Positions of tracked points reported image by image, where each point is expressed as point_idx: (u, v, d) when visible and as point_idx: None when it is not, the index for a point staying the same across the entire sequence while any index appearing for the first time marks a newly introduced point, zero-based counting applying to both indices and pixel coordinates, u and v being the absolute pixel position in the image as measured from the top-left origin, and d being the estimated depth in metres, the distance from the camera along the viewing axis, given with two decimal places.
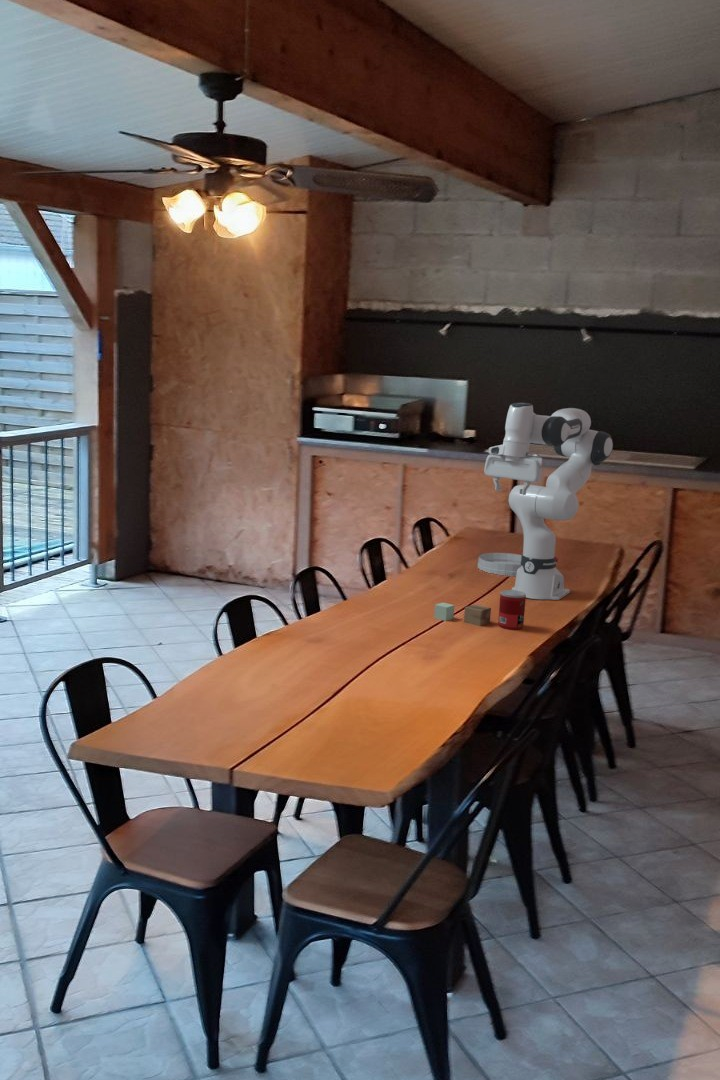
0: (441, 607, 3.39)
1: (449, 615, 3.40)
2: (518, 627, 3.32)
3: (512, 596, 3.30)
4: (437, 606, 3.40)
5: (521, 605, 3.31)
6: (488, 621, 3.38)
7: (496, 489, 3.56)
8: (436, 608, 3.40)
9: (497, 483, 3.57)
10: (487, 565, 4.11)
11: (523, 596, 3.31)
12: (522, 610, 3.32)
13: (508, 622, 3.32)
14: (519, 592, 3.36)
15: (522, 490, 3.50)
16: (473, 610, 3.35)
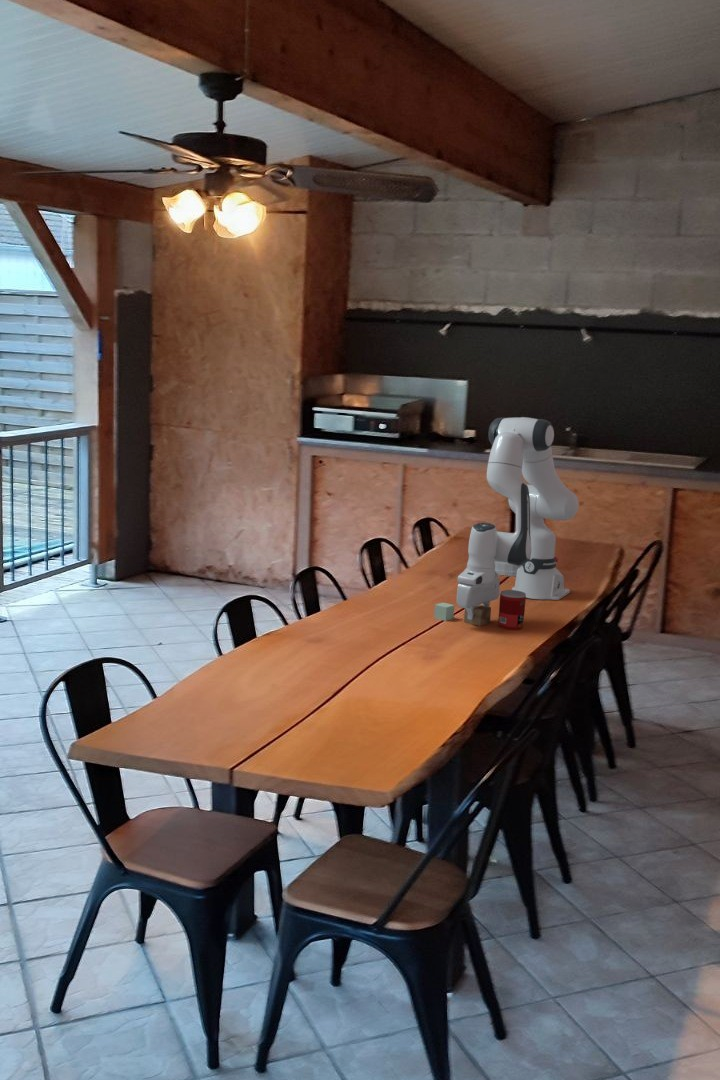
0: (441, 607, 3.39)
1: (449, 615, 3.40)
2: (518, 627, 3.32)
3: (512, 596, 3.30)
4: (437, 606, 3.40)
5: (521, 605, 3.31)
6: (488, 621, 3.38)
7: (472, 618, 3.35)
8: (436, 608, 3.40)
9: None
10: None
11: (523, 596, 3.31)
12: (522, 610, 3.32)
13: (508, 622, 3.32)
14: (519, 592, 3.36)
15: None
16: (473, 610, 3.35)
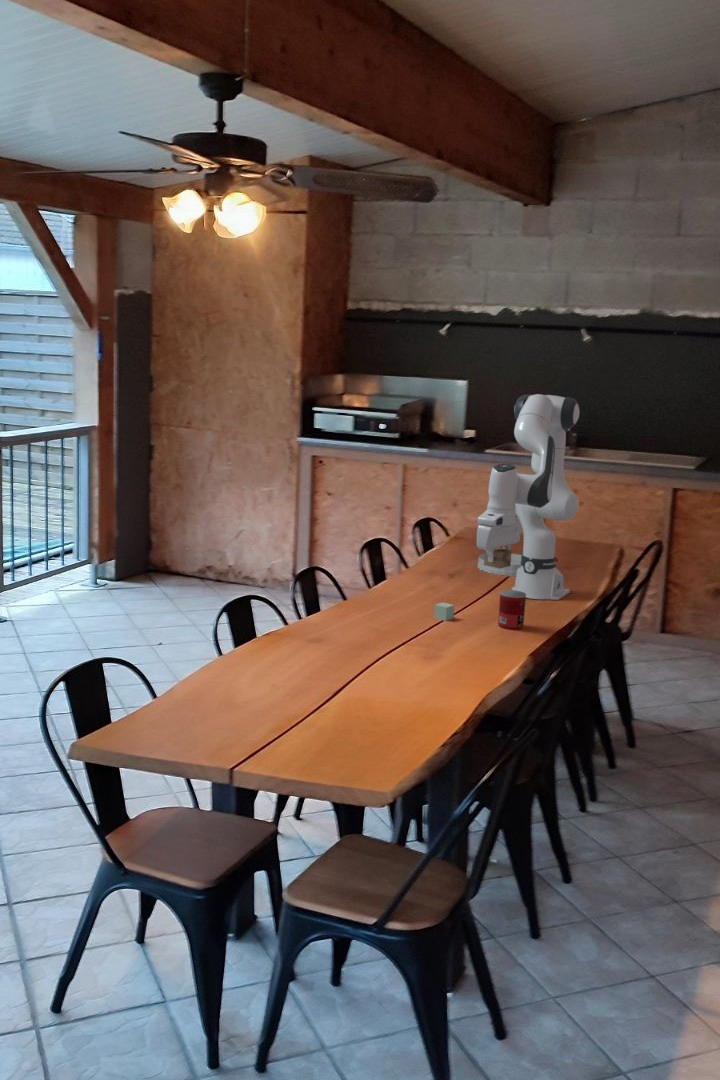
0: (441, 607, 3.39)
1: (449, 615, 3.40)
2: (518, 627, 3.32)
3: (512, 596, 3.30)
4: (437, 606, 3.40)
5: (521, 605, 3.31)
6: (508, 564, 3.34)
7: (493, 560, 3.30)
8: (436, 608, 3.40)
9: None
10: None
11: (523, 596, 3.31)
12: (522, 610, 3.32)
13: (508, 622, 3.32)
14: (519, 592, 3.36)
15: None
16: (493, 552, 3.31)
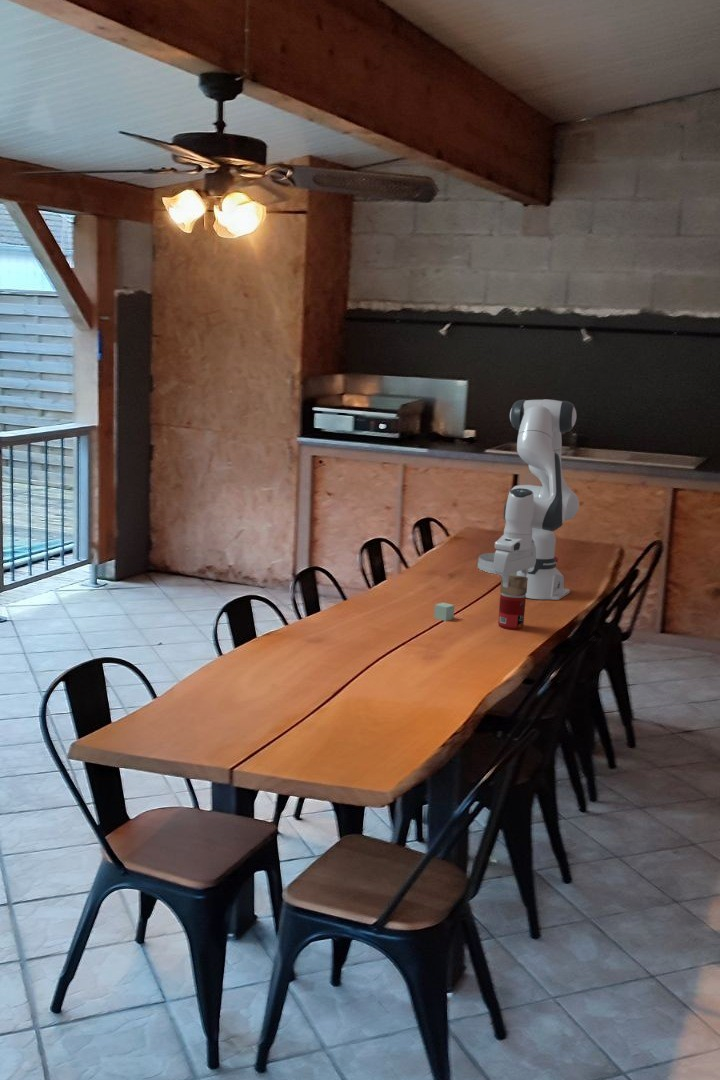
0: (441, 607, 3.39)
1: (449, 615, 3.40)
2: (518, 627, 3.32)
3: (512, 596, 3.30)
4: (437, 606, 3.40)
5: (521, 605, 3.31)
6: (525, 591, 3.33)
7: (508, 586, 3.29)
8: (436, 608, 3.40)
9: None
10: (487, 565, 4.11)
11: (523, 596, 3.31)
12: (522, 610, 3.32)
13: (508, 622, 3.32)
14: None
15: None
16: (510, 579, 3.30)
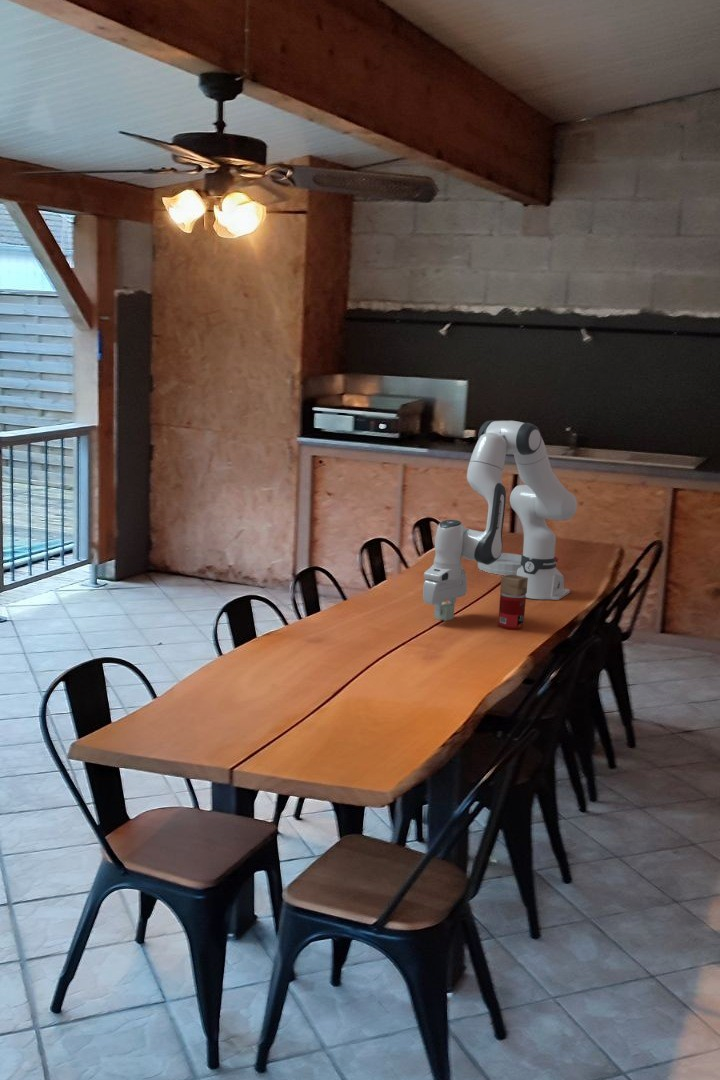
0: (441, 607, 3.39)
1: (449, 615, 3.40)
2: (518, 627, 3.32)
3: (512, 596, 3.30)
4: None
5: (521, 605, 3.31)
6: (525, 591, 3.33)
7: (440, 614, 3.38)
8: None
9: None
10: None
11: (523, 596, 3.31)
12: (522, 610, 3.32)
13: (508, 622, 3.32)
14: None
15: None
16: (510, 580, 3.30)
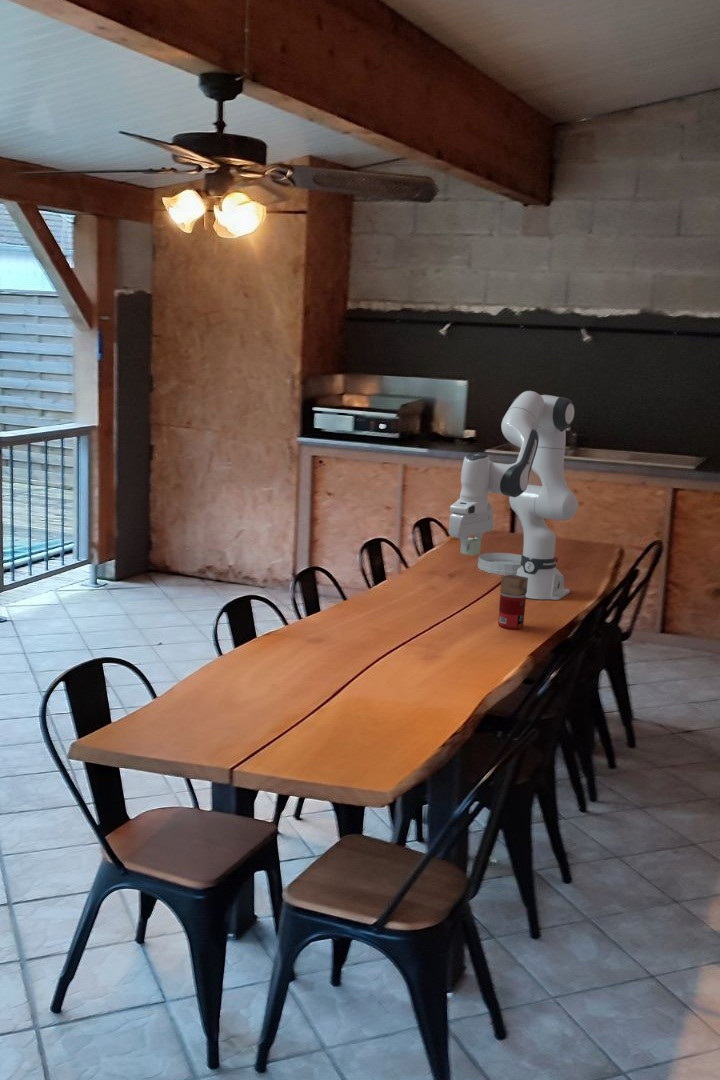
0: (467, 541, 3.33)
1: (476, 550, 3.34)
2: (518, 627, 3.32)
3: (512, 596, 3.30)
4: None
5: (521, 605, 3.31)
6: (525, 591, 3.33)
7: (467, 548, 3.33)
8: None
9: None
10: (487, 565, 4.11)
11: (523, 596, 3.31)
12: (522, 610, 3.32)
13: (508, 622, 3.32)
14: None
15: None
16: (510, 580, 3.30)
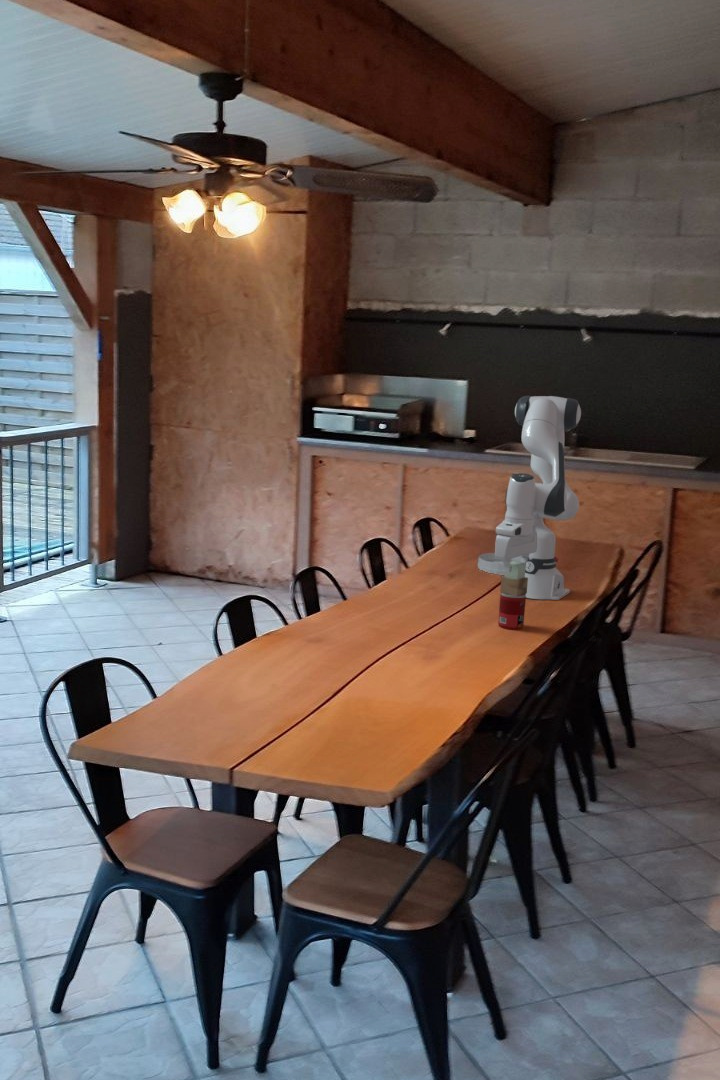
0: (512, 565, 3.30)
1: (521, 574, 3.31)
2: (518, 627, 3.32)
3: (512, 596, 3.30)
4: None
5: (521, 605, 3.31)
6: (525, 591, 3.33)
7: (510, 571, 3.28)
8: None
9: None
10: (487, 565, 4.11)
11: (523, 596, 3.31)
12: (522, 610, 3.32)
13: (508, 622, 3.32)
14: None
15: None
16: (510, 580, 3.30)
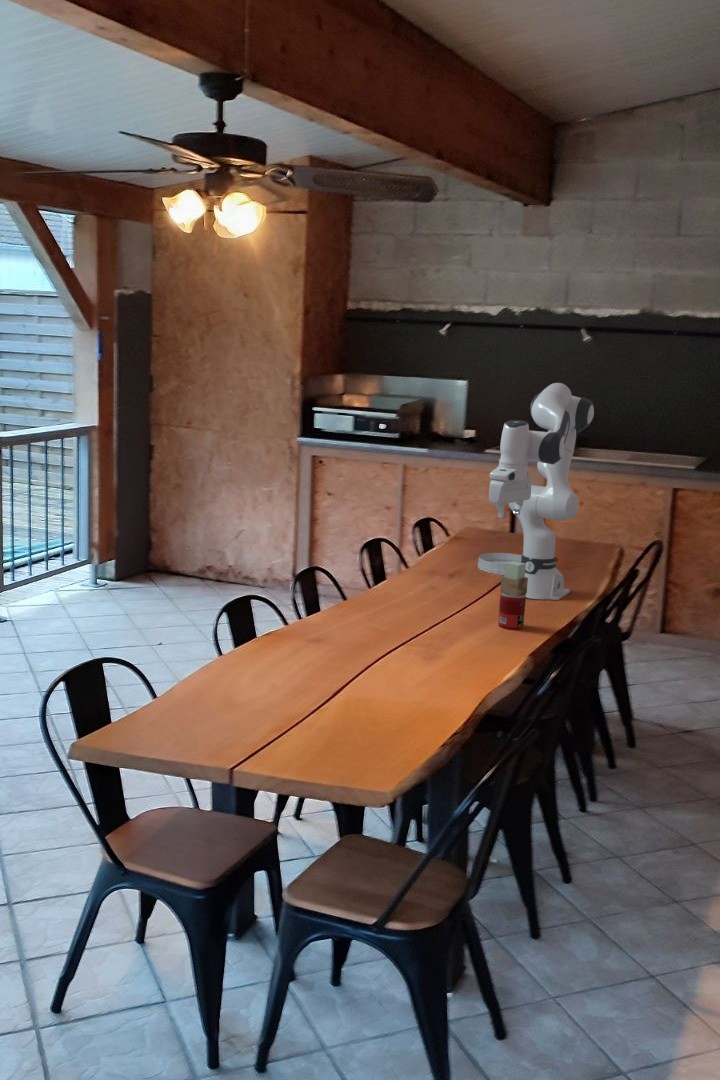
0: (512, 565, 3.30)
1: (520, 574, 3.31)
2: (518, 627, 3.32)
3: (512, 596, 3.30)
4: (508, 564, 3.31)
5: (521, 605, 3.31)
6: (525, 591, 3.33)
7: (503, 516, 3.32)
8: (507, 567, 3.31)
9: None
10: (487, 564, 4.11)
11: (523, 596, 3.31)
12: (522, 610, 3.32)
13: (508, 622, 3.32)
14: None
15: (519, 510, 3.39)
16: (510, 580, 3.30)
